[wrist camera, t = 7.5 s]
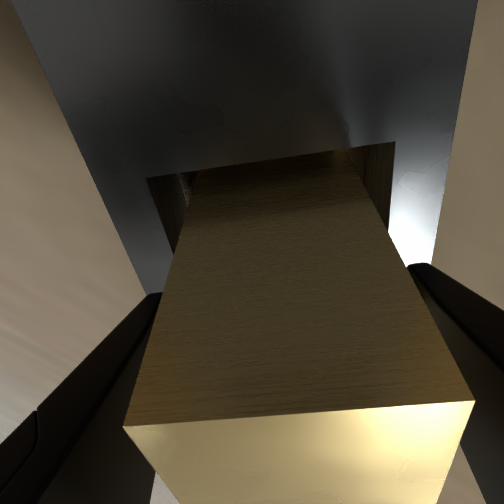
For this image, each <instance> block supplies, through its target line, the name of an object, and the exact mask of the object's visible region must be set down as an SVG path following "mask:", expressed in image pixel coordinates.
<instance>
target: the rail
mask: <svg viewBox="0 0 504 504" xmlns="http://www.w3.org/2000/svg"><path fill="white" fill-rule="evenodd" d="M11 2H12V4H13V6H14V8H15V10H16V12H17V15H18V17H19V19H20V21H21V23H22V25H23V28H24V30H25V32H26V34H27V36H28V39H29V41H30V43H31V45H32V47H33V49H34V52H35V54H36V56H37V58H38V60H39V62H40V65H41V67H42V69H43V71H44V73H45V75H46V78H47V80H48V82H49V84H50V86H51V89H52V91H53V93H54V95H55V97H56V99H57V102H58V104H59V106H60V108H61V110H62V112H63V115H64V117H65V119H66V121H67V123H68V125H69V128H70V130H71V132H72V134H73V136H74V139H75V141H76V143H77V145H78V147H79V149H80V152H81V154H82V156H83V158H84V160H85V162H86V165H87V167H88V169H89V171H90V173H91V175H92V178H93V180H94V182H95V184H96V186H97V189H98V191H99V193H100V195H101V197H102V199H103V202H104V204H105V206H106V208H107V210H108V212H109V215H110V217H111V219H112V221H113V223H114V225H115V228H116V230H117V232H118V234H119V236H120V239H121V241H122V243H123V245H124V247H125V249H126V252H127V254H128V256H129V258H130V260H131V262H132V265H133V267H134V269H135V271H136V273H137V275H138V278H139V280H140V282H141V284H142V286H143V289H144V291H145V293H146V295H148V294H150V293H156V292H163V290H164V287H165V283H166V280H167V277H168V273H169V270H170V267H171V263H172V260H173V256H174V253H175V250H176V246H177V243H178V240H179V236H180V233H181V230H182V226H183V223H184V220H185V216H186V213H187V210H188V208H187V204H186V201H185V198H184V195H183V191H182V188H181V185H180V182H179V178H178V175H177V173H182V172H189V171H195V170H202V169H209V168H216V167H222V166H229V165H236V164H243V163H250V162H256V161H263V160H270V159H277V158H284V157H290V156H297V155H304V154H311V153H317V152H324V151H331V150H338V149H345V148H351V147H358V146H365V145H366V156H365V188H366V190H367V192H368V194H369V196H370V198H371V200H372V202H373V204H374V206H375V208H376V210H377V212H378V214H379V215H380V217H381V219H382V221H383V223H384V225H385V227H386V229H387V231H388V233H389V235H390V237H391V239H392V241H393V243H394V244H395V246H396V248H397V250H398V252H399V254H400V256H401V258H402V260H403V262H404V264H405V266H406V267H407V266H408V265H409V264H412V263H421V262H426V263H429V264H431V260H432V254H433V249H434V243H435V238H436V232H437V226H438V221H439V215H440V210H441V204H442V198H443V193H444V187H445V182H446V176H447V170H448V165H449V159H450V154H451V148H452V142H453V137H454V131H455V126H456V120H457V114H458V109H459V103H460V98H461V92H462V86H463V81H464V75H465V70H466V64H467V58H468V53H469V47H470V42H471V36H472V30H473V25H474V19H475V14H476V8H477V2H478V0H11Z"/></svg>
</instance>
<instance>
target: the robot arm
mask: <svg viewBox="0 0 504 504" xmlns="http://www.w3.org/2000/svg"><path fill="white" fill-rule="evenodd" d="M406 268H407V270H408V271H409V273H410V275H411V277H412V279H413V281H414V283H415V285H416V287H417V289H418V291H419V293H420V295H421V297H422V298H423V300H424V302H425V304H426V306H427V308H428V310H429V312H430V314H431V316H432V318H433V320H434V322H435V324H436V326H437V327H438V329H439V331H440V333H441V335H442V337H443V339H444V341H445V343H446V345H447V347H448V349H449V351H450V353H451V354H452V356H453V358H454V360H455V362H456V364H457V366H458V368H459V370H460V372H461V374H462V376H463V378H464V380H465V381H466V383H467V385H468V387H469V389H470V391H471V393H472V395H473V397H474V399H475V403H474V405H473V408H472V411H471V413H470V416H469V419H468V421H467V424H466V426H465V429H464V432H463V434H462V437H461V439H460V442H459V443H460V445H461V448H462V450H463V452H464V454H465V457H466V459H467V461H468V463H469V466H470V468H471V470H472V472H473V475H474V477H475V479H476V481H477V484H478V486H479V488H480V490H481V493H482V495H483V497H484V499H485V502H486V504H504V311H503V310H502V309H500V308H499V307H497V306H496V305H494V304H492V303H491V302H489V301H488V300H486V299H484V298H483V297H481V296H480V295H478V294H477V293H475V292H473V291H472V290H470V289H469V288H467V287H465V286H464V285H462V284H461V283H459V282H457V281H456V280H454V279H453V278H451V277H450V276H448V275H446V274H445V273H443V272H442V271H440V270H438V269H437V268H435V267H434V266H432V265H431V264H429V263H426V262H421V263H412V264H409V265H408V266H407V267H406ZM162 293H163V292H156V293H150V294H148V295H147V296H146V297H145V298H144V299H143V300H142V301H141V302H140V303H139V304H138V305H137V306H136V307H135V308H134V309H133V310H132V311H131V312H130V313H129V314H128V315H127V316H126V317H125V318H124V319H123V320H122V321H121V322H120V323H119V324H118V325H117V326H116V327H115V329H114V330H113V331H112V332H111V333H110V334H109V335H108V336H107V337H106V338H105V339H104V340H103V341H102V342H101V343H100V344H99V345H98V346H97V347H96V348H95V349H94V350H93V351H92V352H91V353H90V354H89V355H88V356H87V357H86V358H85V359H84V360H83V361H82V362H81V363H80V364H79V365H78V366H77V367H76V368H75V369H74V370H73V371H72V372H71V373H70V374H69V375H68V376H67V377H66V378H65V379H64V380H63V382H62V383H61V384H60V385H59V386H58V387H57V388H56V389H55V390H54V391H53V392H52V393H51V394H50V395H49V396H48V397H47V398H46V399H45V400H44V401H43V402H42V403H41V404H40V405H39V406H38V407H37V411H33V412H32V413H31V414H30V415H29V416H28V417H27V418H26V419H25V420H24V421H23V422H22V423H21V424H20V425H19V426H18V427H17V428H16V429H15V430H14V431H13V432H12V433H11V434H10V435H9V436H8V437H7V438H6V439H5V440H4V441H3V442H2V443H1V444H0V504H150V499H151V493H152V488H153V483H154V478H155V472H156V471H155V470H154V468H153V467H152V466H151V464H150V463H149V462H148V460H147V459H146V458H145V456H144V455H143V454H142V452H141V451H140V450H139V448H138V447H137V446H136V444H135V443H134V442H133V440H132V439H131V438H130V436H129V435H128V434H127V432H126V431H125V430H124V428H123V424H124V421H125V417H126V414H127V411H128V407H129V404H130V401H131V397H132V394H133V390H134V387H135V384H136V380H137V377H138V374H139V370H140V367H141V364H142V360H143V357H144V354H145V350H146V347H147V344H148V340H149V337H150V334H151V330H152V327H153V323H154V320H155V317H156V313H157V310H158V307H159V303H160V300H161V297H162Z"/></svg>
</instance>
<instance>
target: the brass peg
mask: <svg viewBox="0 0 504 504" xmlns="http://www.w3.org/2000/svg"><path fill="white" fill-rule="evenodd" d="M474 403H475V399H474V397H473V395H472V393H471V391H470V389H469V387H468V385H467V383H466V381H465V380H464V378H463V376H462V374H461V372H460V370H459V368H458V366H457V364H456V362H455V360H454V358H453V356H452V354H451V353H450V351H449V349H448V347H447V345H446V343H445V341H444V339H443V337H442V335H441V333H440V331H439V329H438V327H437V326H436V324H435V322H434V320H433V318H432V316H431V314H430V312H429V310H428V308H427V306H426V304H425V302H424V300H423V298H422V297H421V295H420V293H419V291H418V289H417V287H416V285H415V283H414V281H413V279H412V277H411V275H410V273H409V271H408V270H407V268H406V266H405V264H404V262H403V260H402V258H401V256H400V254H399V252H398V250H397V248H396V246H395V244H394V243H393V241H392V239H391V237H390V235H389V233H388V231H387V229H386V227H385V225H384V223H383V221H382V219H381V217H380V215H379V214H378V212H377V210H376V208H375V206H374V204H373V202H372V200H371V198H370V196H369V194H368V192H367V190H366V188H365V187H364V185H363V183H362V181H361V179H360V177H359V175H358V173H357V171H356V169H355V167H354V165H353V163H352V161H351V160H350V158H349V156H348V154H347V152H346V150H345V149H338V150H331V151H324V152H317V153H311V154H304V155H297V156H290V157H284V158H277V159H270V160H263V161H256V162H250V163H243V164H236V165H229V166H222V167H216V168H209V169H202V170H199V173H198V176H197V179H196V183H195V186H194V190H193V193H192V196H191V200H190V203H189V206H188V210H187V213H186V216H185V220H184V223H183V226H182V230H181V233H180V236H179V240H178V243H177V246H176V250H175V253H174V256H173V260H172V263H171V267H170V270H169V273H168V277H167V280H166V283H165V287H164V290H163V293H162V297H161V300H160V303H159V307H158V310H157V313H156V317H155V320H154V323H153V327H152V330H151V334H150V337H149V340H148V344H147V347H146V350H145V354H144V357H143V360H142V364H141V367H140V370H139V374H138V377H137V380H136V384H135V387H134V390H133V394H132V397H131V401H130V404H129V407H128V411H127V414H126V417H125V421H124V424H123V428H124V430H125V431H126V432H127V434H128V435H129V436H130V438H131V439H132V440H133V442H134V443H135V444H136V446H137V447H138V448H139V450H140V451H141V452H142V454H143V455H144V456H145V458H146V459H147V460H148V462H149V463H150V464H151V466H152V467H153V468H154V470H155V471H156V472H157V474H158V475H159V476H160V478H161V479H162V480H163V482H164V483H165V484H166V486H167V487H168V488H169V490H170V491H171V492H172V494H173V495H174V496H175V498H176V499H177V500H178V502H179V503H180V504H436V502H437V500H438V497H439V494H440V492H441V489H442V487H443V484H444V481H445V479H446V476H447V473H448V471H449V468H450V466H451V463H452V460H453V458H454V455H455V453H456V450H457V447H458V445H459V442H460V439H461V437H462V434H463V432H464V429H465V426H466V424H467V421H468V419H469V416H470V413H471V411H472V408H473V405H474Z"/></svg>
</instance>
